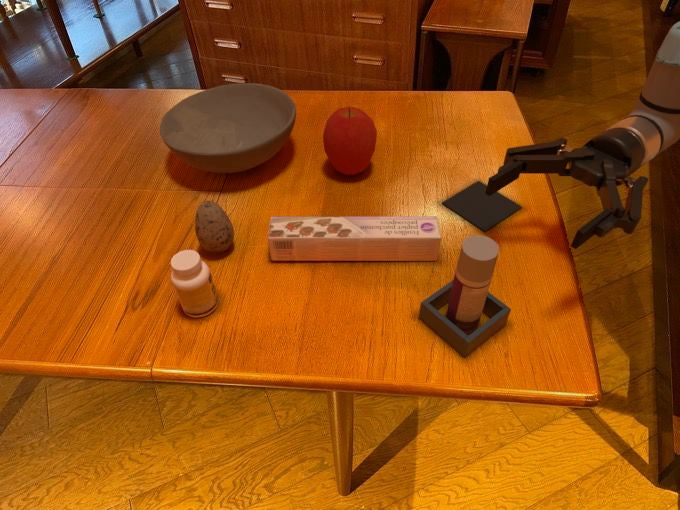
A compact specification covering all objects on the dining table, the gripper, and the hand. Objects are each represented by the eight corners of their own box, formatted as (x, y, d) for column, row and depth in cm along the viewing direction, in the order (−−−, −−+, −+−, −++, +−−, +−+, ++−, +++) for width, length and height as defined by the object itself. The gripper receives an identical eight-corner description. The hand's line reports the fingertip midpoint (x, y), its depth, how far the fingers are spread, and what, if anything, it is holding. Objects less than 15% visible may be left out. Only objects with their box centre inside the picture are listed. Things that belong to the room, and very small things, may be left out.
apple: (384, 178, 94) (387, 113, 84) (335, 190, 92) (332, 125, 82) (364, 150, 101) (364, 87, 91) (318, 161, 99) (313, 97, 89)
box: (434, 238, 82) (438, 213, 78) (438, 261, 78) (442, 236, 74) (273, 240, 83) (269, 215, 79) (270, 263, 79) (265, 238, 75)
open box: (505, 324, 70) (511, 309, 67) (464, 357, 66) (468, 343, 63) (459, 287, 74) (463, 272, 72) (418, 317, 71) (420, 302, 68)
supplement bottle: (225, 307, 73) (211, 263, 66) (191, 324, 71) (173, 280, 64) (210, 285, 76) (195, 240, 69) (177, 301, 74) (158, 256, 67)
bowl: (263, 208, 89) (254, 163, 82) (145, 179, 96) (128, 135, 89) (320, 135, 106) (317, 92, 98) (216, 114, 113) (206, 73, 106)
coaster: (521, 208, 87) (522, 206, 87) (484, 232, 83) (485, 231, 83) (478, 182, 93) (478, 180, 92) (441, 204, 88) (442, 202, 88)
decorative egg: (242, 239, 83) (231, 193, 76) (228, 263, 79) (216, 217, 72) (210, 233, 84) (197, 188, 77) (195, 257, 80) (179, 212, 73)
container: (445, 306, 72) (460, 232, 61) (477, 309, 71) (498, 235, 61) (445, 332, 69) (461, 259, 58) (479, 335, 68) (501, 262, 58)
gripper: (692, 212, 68) (608, 286, 59) (540, 138, 82) (454, 189, 73) (721, 168, 62) (633, 243, 54) (553, 96, 76) (462, 146, 68)
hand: (530, 212), depth 63 cm, fingers open, 13 cm apart
